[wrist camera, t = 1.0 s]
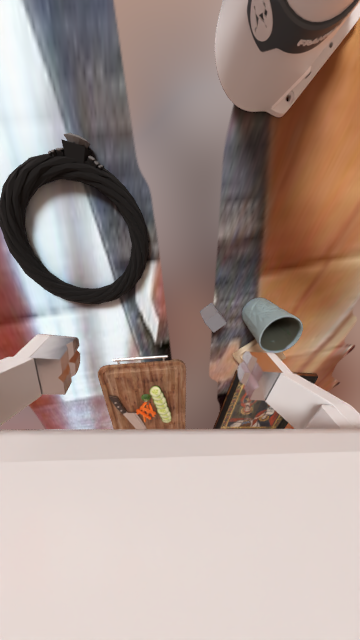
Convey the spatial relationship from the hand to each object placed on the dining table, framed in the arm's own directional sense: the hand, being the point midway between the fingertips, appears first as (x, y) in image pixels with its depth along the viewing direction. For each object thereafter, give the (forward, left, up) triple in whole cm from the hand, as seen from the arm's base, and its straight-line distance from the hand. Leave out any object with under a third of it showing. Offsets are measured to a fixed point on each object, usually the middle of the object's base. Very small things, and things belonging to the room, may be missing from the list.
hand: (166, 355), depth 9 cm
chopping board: (+38, +37, -38) cm, 65 cm away
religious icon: (+8, +68, -38) cm, 78 cm away
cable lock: (+10, -12, -38) cm, 41 cm away
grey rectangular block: (0, +21, -37) cm, 43 cm away
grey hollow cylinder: (-10, +30, -37) cm, 49 cm away
